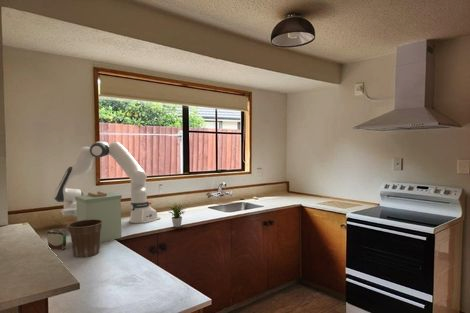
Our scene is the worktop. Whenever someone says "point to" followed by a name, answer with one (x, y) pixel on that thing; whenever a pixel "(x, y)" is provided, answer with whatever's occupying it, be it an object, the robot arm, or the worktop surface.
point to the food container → (57, 239)
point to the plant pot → (85, 237)
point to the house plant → (177, 215)
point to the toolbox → (102, 212)
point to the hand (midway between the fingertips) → (82, 212)
